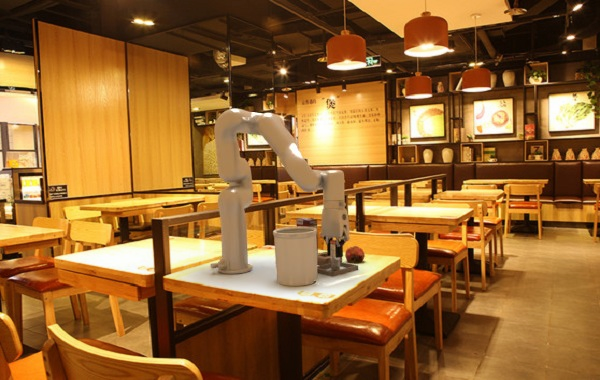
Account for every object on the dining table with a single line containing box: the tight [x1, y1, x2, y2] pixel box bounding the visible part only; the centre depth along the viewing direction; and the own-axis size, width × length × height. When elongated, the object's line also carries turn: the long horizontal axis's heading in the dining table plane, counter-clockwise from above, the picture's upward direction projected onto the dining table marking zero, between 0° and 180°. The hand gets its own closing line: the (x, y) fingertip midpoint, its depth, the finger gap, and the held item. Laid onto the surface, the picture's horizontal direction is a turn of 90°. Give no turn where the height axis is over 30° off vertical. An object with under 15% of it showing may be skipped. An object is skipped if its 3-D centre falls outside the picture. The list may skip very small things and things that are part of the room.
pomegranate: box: [344, 245, 365, 265], centre depth 172 cm, size 7×7×10 cm
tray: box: [317, 261, 359, 278], centre depth 159 cm, size 13×10×2 cm
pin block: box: [317, 251, 343, 266], centre depth 171 cm, size 9×9×4 cm
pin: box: [330, 239, 341, 271], centre depth 159 cm, size 3×3×10 cm
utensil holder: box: [272, 225, 318, 287], centre depth 150 cm, size 15×15×18 cm
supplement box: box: [296, 217, 319, 254], centre depth 189 cm, size 9×5×16 cm, turn 41°
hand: (335, 255), depth 159 cm, fingers closed on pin, 3 cm apart
